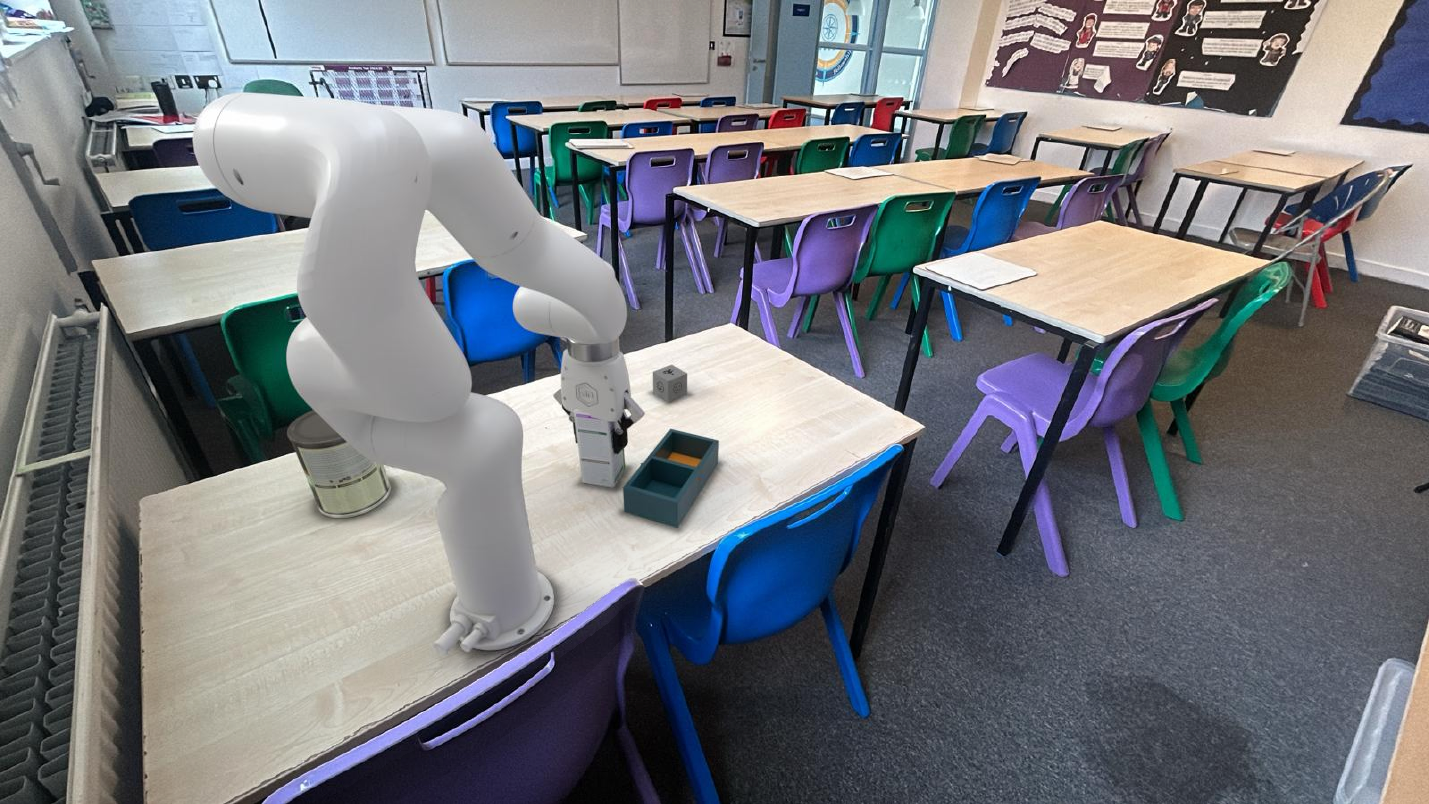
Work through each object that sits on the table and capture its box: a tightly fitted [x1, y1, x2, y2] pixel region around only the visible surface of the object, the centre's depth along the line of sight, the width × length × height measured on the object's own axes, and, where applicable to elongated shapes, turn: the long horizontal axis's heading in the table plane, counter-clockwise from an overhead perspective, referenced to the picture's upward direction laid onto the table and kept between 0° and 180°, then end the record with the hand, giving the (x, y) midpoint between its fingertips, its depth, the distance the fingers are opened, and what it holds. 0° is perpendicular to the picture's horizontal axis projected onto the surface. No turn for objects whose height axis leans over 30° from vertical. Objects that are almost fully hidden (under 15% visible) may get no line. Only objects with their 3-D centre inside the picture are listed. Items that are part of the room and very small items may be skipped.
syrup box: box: [574, 409, 626, 489], centre depth 98 cm, size 6×6×14 cm
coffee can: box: [286, 409, 392, 519], centre depth 92 cm, size 10×10×14 cm
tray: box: [622, 428, 720, 529], centre depth 99 cm, size 17×9×5 cm, turn 159°
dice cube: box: [652, 364, 688, 404], centre depth 124 cm, size 5×5×5 cm
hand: (601, 443), depth 98 cm, fingers closed on syrup box, 6 cm apart
